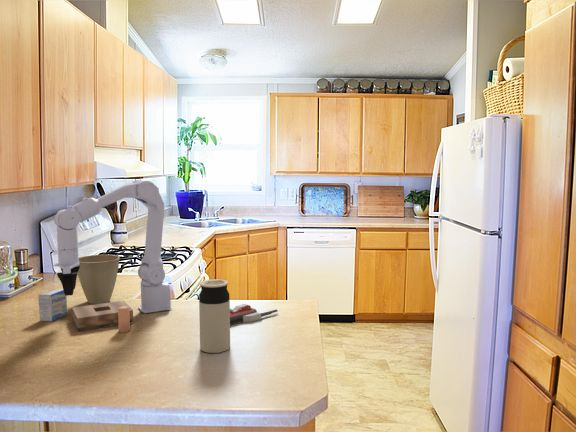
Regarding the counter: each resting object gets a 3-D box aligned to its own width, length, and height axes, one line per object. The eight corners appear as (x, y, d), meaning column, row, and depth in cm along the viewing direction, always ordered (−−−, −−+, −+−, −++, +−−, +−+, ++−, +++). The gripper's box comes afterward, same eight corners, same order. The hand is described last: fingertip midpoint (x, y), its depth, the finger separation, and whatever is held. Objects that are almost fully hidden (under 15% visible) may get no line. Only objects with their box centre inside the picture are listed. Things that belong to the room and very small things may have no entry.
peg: (128, 328, 147) (128, 305, 146) (131, 331, 144) (130, 308, 144) (117, 330, 145) (116, 307, 145) (119, 333, 143) (119, 310, 142)
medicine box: (51, 322, 154) (50, 295, 153) (39, 321, 154) (37, 294, 154) (67, 314, 161) (66, 288, 160) (55, 313, 162) (54, 288, 161)
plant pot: (68, 306, 171) (66, 261, 170) (92, 295, 186) (90, 254, 184) (107, 308, 168) (105, 262, 167) (128, 297, 183) (127, 255, 181)
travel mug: (236, 347, 131) (235, 282, 129) (213, 356, 125) (212, 287, 123) (217, 340, 136) (216, 277, 134) (194, 348, 130) (192, 282, 129)
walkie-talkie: (230, 329, 147) (279, 315, 161) (230, 314, 147) (279, 302, 160) (213, 322, 154) (262, 309, 167) (213, 308, 153) (262, 297, 167)
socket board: (124, 312, 164) (123, 300, 163) (133, 322, 152) (132, 310, 152) (72, 319, 156) (72, 307, 155) (77, 331, 144) (77, 318, 144)
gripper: (56, 245, 155) (58, 287, 156) (50, 253, 141) (53, 299, 143) (80, 244, 157) (82, 285, 159) (76, 251, 144) (79, 297, 145)
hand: (70, 292), depth 151 cm, fingers open, 7 cm apart
